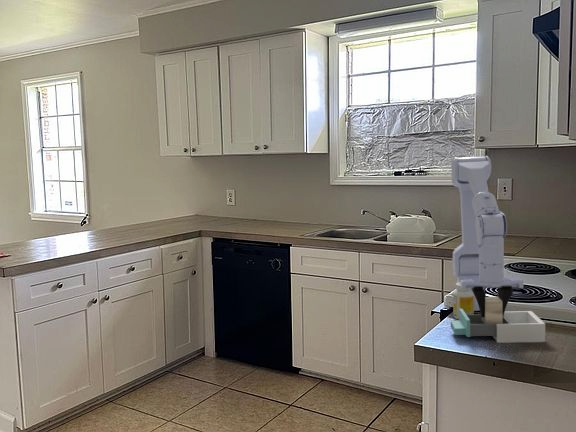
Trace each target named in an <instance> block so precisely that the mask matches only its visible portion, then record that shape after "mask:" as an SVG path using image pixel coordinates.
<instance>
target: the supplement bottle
mask: <svg viewBox="0 0 576 432" xmlns="http://www.w3.org/2000/svg"><path fill="white" fill-rule="evenodd" d="M470 289H471V288H467V289H462V288H461V282H458V283H457V282H456V283H455V290H454V291H453V293H452V296H453V297H452V299H453V301H452V302H453V303H452V304H453V305H452V306H453V315H452V316H453V318H454V319H455V320H459V309H463V310H464V312H465V313H466V315H473V314H474V313H475V311H474V294H473V292H472V291H471V290H470Z"/></svg>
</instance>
